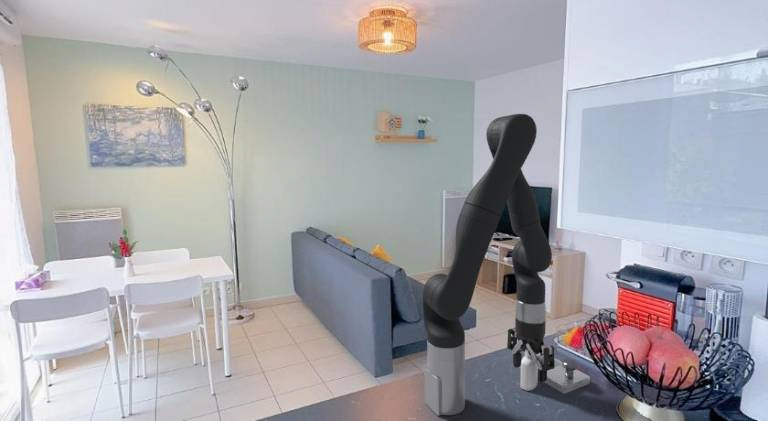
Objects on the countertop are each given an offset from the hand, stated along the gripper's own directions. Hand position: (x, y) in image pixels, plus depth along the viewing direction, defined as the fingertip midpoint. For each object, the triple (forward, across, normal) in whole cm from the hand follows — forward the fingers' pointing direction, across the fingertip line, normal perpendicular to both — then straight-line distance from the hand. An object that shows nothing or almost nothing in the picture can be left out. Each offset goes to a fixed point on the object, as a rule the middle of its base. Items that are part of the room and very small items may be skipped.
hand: (529, 373), depth 109 cm
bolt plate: (+4, -1, +10) cm, 11 cm away
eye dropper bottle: (+4, 0, 0) cm, 4 cm away
